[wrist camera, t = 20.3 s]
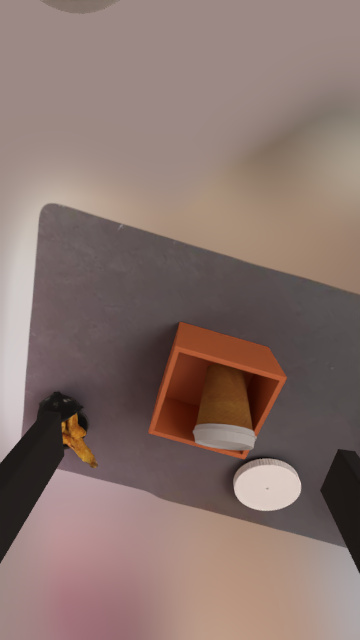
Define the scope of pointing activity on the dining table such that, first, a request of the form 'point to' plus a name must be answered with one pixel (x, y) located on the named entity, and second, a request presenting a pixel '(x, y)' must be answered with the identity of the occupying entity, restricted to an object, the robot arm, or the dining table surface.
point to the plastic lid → (266, 484)
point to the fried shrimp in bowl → (70, 424)
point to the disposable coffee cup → (224, 411)
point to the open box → (189, 376)
